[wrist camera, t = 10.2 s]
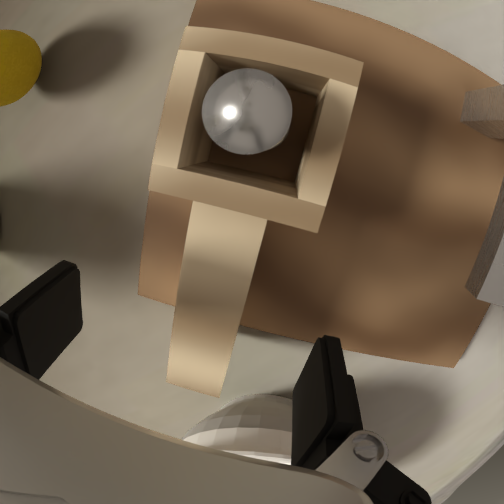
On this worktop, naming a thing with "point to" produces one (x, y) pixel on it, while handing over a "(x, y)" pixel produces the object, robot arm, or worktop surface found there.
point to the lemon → (17, 65)
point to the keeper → (500, 228)
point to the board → (361, 196)
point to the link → (238, 186)
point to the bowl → (249, 428)
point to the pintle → (247, 111)
